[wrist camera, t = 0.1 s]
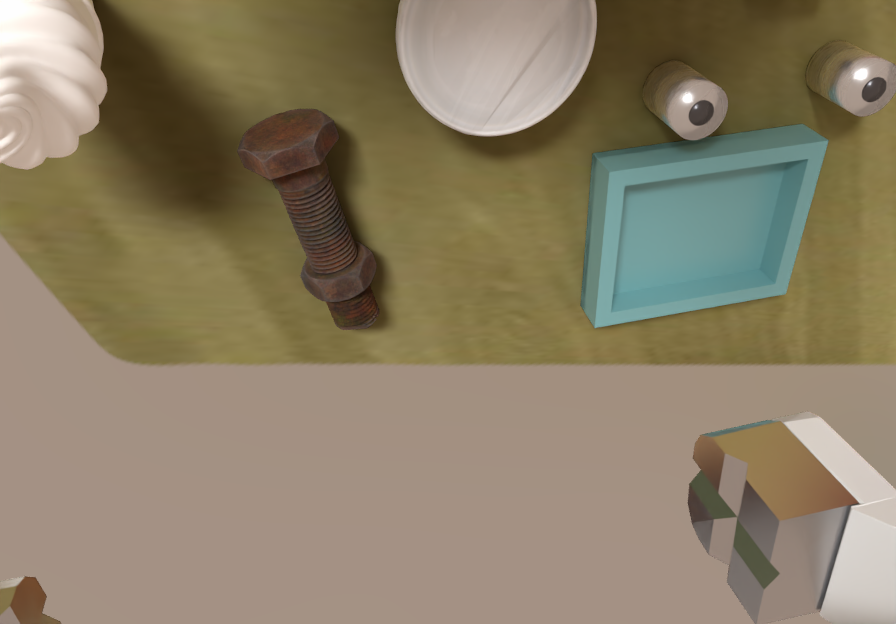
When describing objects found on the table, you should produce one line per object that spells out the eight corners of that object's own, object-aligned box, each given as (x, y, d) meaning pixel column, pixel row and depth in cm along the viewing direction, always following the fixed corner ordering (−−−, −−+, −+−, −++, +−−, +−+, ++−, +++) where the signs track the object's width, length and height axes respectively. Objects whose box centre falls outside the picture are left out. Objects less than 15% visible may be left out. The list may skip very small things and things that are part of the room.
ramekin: (552, 103, 49) (581, 135, 45) (382, 108, 47) (396, 142, 42) (579, -90, 42) (616, -74, 38) (383, -95, 40) (399, -79, 36)
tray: (592, 153, 52) (609, 172, 49) (802, 123, 54) (828, 140, 52) (580, 305, 59) (594, 328, 57) (764, 273, 62) (785, 294, 59)
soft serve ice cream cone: (22, 101, 42) (-72, 249, 29) (-83, -55, 37) (-254, 42, 24) (164, 50, 42) (131, 174, 29) (78, -114, 37) (-7, -47, 24)
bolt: (342, 291, 56) (267, 107, 46) (404, 293, 54) (340, 102, 45) (310, 347, 52) (221, 158, 42) (376, 351, 50) (300, 154, 41)
